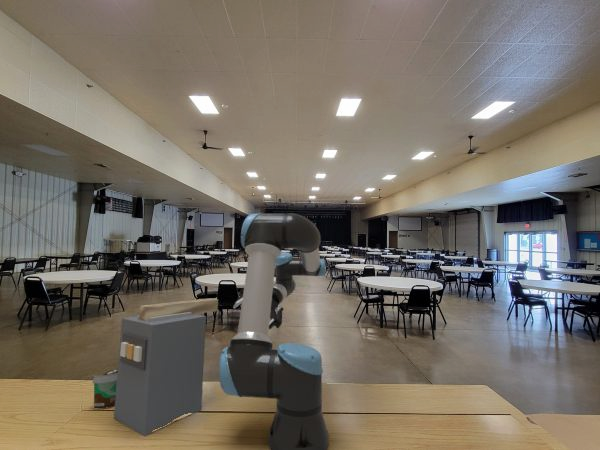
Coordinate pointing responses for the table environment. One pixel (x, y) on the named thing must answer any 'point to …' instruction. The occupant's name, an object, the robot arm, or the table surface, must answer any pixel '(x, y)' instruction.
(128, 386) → the cabinet
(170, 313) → the switch bar
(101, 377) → the food container
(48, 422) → the table surface
